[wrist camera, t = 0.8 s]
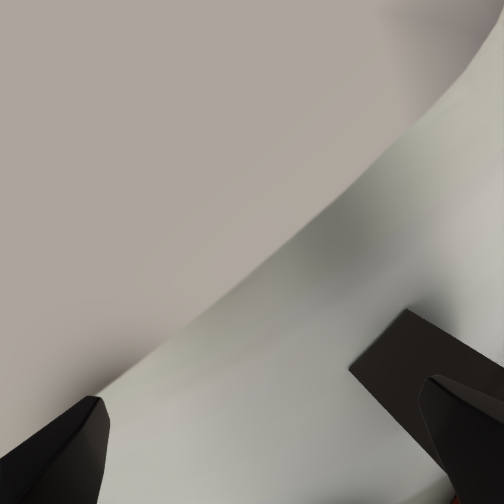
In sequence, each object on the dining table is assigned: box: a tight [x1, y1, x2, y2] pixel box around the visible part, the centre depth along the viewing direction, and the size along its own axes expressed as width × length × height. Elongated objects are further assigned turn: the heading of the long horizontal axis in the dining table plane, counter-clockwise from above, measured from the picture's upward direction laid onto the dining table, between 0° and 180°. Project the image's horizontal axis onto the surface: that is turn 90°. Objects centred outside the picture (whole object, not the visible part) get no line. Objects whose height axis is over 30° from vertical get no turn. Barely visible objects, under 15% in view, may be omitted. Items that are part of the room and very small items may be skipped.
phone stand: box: [349, 309, 504, 473], centre depth 15 cm, size 9×6×12 cm, turn 44°
